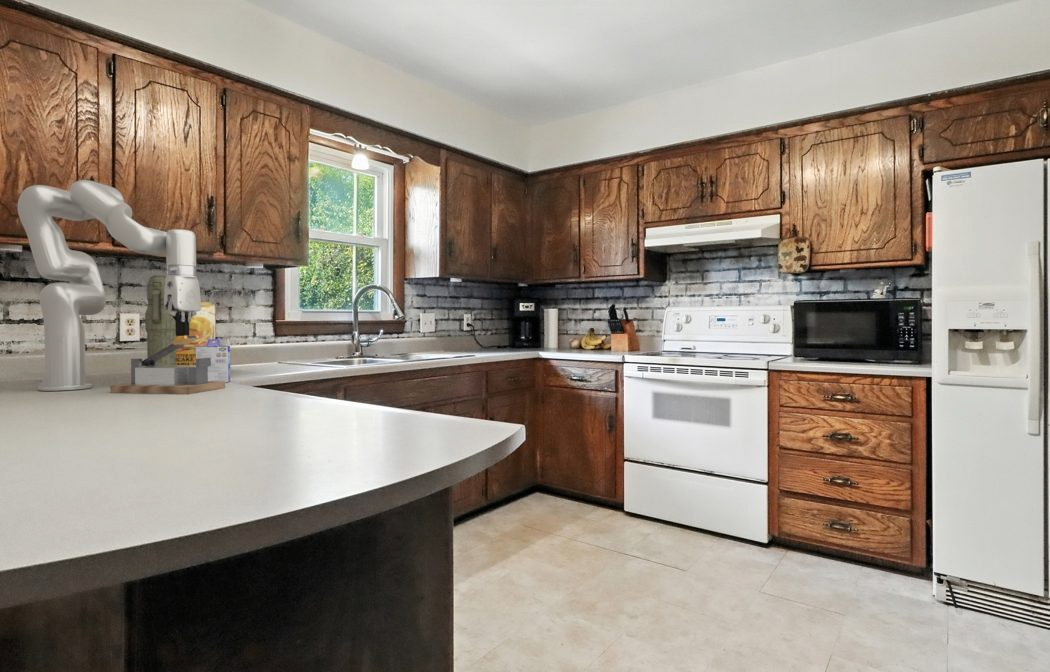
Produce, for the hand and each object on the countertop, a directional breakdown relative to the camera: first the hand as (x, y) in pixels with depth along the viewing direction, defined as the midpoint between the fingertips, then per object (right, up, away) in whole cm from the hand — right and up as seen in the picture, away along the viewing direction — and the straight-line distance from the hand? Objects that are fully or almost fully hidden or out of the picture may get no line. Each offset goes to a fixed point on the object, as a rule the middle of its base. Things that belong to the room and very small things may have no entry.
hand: (182, 335), depth 171 cm
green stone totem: (-19, -16, +21) cm, 32 cm away
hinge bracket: (-12, -14, +2) cm, 19 cm away
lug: (+5, -14, 0) cm, 15 cm away
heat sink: (-4, -14, +1) cm, 15 cm away
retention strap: (-5, -5, +1) cm, 7 cm away
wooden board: (-4, -16, +1) cm, 17 cm away
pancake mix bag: (-19, -16, +35) cm, 43 cm away
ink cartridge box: (-4, -16, +25) cm, 30 cm away
